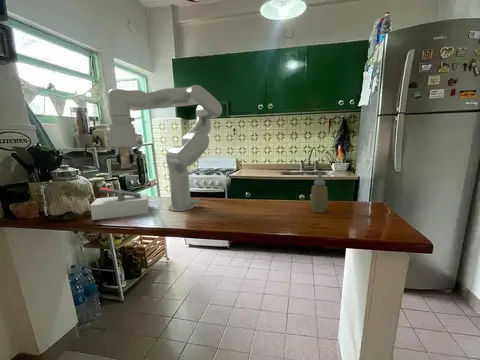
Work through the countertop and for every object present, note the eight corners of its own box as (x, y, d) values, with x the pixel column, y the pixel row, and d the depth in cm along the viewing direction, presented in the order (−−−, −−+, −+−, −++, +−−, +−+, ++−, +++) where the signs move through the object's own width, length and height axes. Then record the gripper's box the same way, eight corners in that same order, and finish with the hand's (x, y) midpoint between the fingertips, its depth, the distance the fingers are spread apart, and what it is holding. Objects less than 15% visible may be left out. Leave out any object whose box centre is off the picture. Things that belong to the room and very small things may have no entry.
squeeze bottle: (308, 213, 111) (309, 174, 108) (310, 208, 119) (311, 171, 116) (327, 214, 108) (328, 174, 105) (328, 209, 116) (329, 172, 113)
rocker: (140, 195, 125) (140, 192, 125) (139, 197, 120) (140, 194, 120) (100, 189, 119) (101, 187, 118) (98, 191, 114) (99, 189, 114)
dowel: (131, 169, 108) (128, 141, 106) (131, 170, 105) (128, 141, 103) (121, 169, 107) (118, 142, 105) (121, 170, 103) (118, 142, 101)
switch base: (148, 206, 132) (146, 186, 130) (148, 213, 119) (146, 191, 117) (98, 211, 124) (95, 191, 122) (92, 220, 111) (89, 197, 109)
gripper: (142, 121, 109) (146, 162, 112) (100, 121, 103) (105, 164, 106) (142, 120, 102) (146, 163, 105) (97, 119, 96) (102, 166, 99)
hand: (125, 163), depth 105 cm, fingers closed on dowel, 4 cm apart
